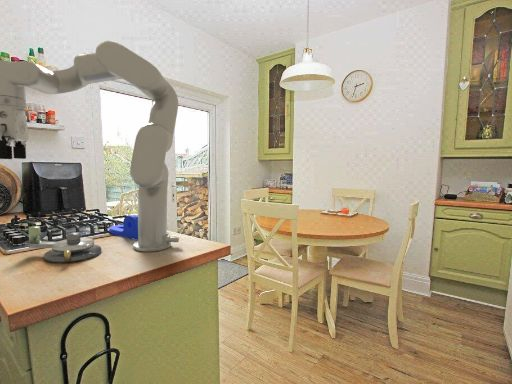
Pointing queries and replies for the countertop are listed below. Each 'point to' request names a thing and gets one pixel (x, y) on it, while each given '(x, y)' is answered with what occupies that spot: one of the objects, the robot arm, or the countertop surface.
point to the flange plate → (70, 243)
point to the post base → (72, 255)
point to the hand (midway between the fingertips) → (13, 158)
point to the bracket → (127, 228)
